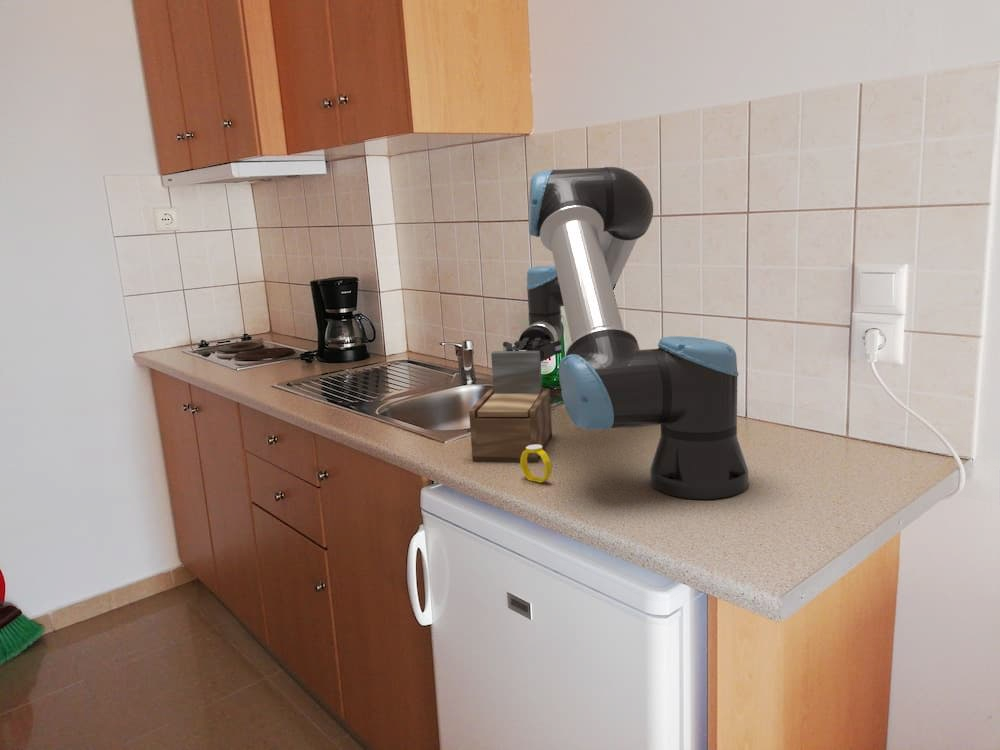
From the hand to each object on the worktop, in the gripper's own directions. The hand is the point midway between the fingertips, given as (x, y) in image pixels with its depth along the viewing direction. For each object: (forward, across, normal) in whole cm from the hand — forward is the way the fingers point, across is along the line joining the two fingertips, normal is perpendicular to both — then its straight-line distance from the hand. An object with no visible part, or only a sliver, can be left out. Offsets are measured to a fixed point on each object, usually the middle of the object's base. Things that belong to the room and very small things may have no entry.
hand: (516, 363), depth 153 cm
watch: (+25, -8, -15) cm, 30 cm away
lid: (+8, 0, -7) cm, 10 cm away
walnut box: (+8, 0, -15) cm, 17 cm away
